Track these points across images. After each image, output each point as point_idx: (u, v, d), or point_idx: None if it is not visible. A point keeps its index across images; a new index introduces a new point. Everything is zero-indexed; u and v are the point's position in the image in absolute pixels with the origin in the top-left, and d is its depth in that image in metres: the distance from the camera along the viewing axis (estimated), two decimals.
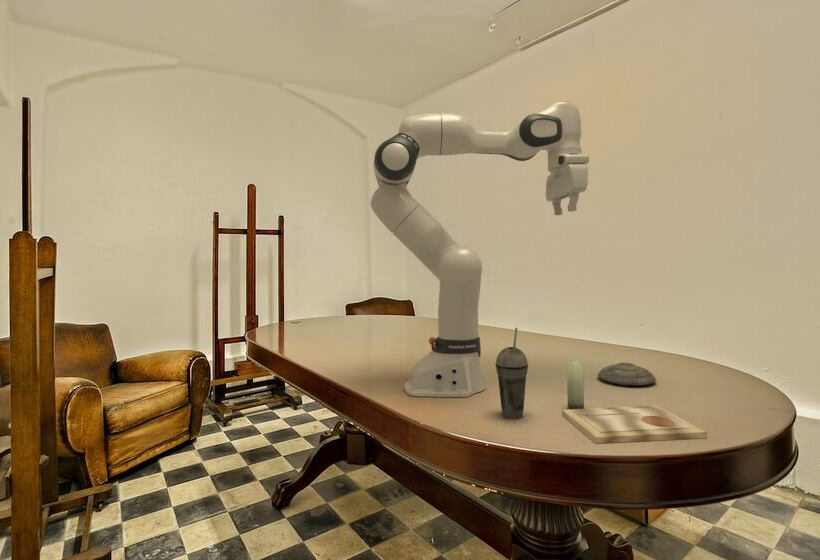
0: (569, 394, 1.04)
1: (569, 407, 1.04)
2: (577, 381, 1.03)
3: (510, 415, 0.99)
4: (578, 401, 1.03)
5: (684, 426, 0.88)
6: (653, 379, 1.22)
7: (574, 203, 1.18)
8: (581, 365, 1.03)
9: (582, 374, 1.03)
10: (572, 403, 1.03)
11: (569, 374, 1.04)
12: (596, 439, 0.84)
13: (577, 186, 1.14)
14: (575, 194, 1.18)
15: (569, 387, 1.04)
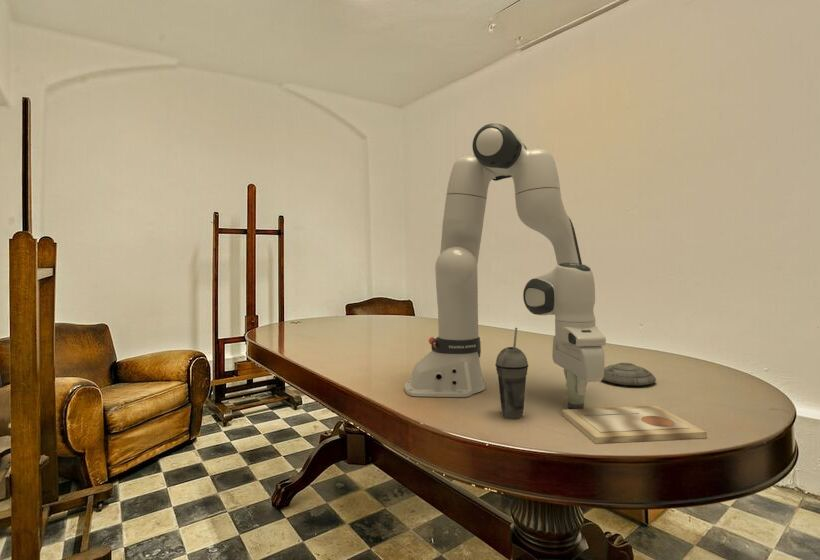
0: (569, 394, 1.04)
1: (569, 407, 1.04)
2: (577, 381, 1.03)
3: (510, 415, 0.99)
4: (578, 401, 1.03)
5: (684, 426, 0.88)
6: (653, 379, 1.22)
7: (583, 386, 1.01)
8: None
9: None
10: (572, 403, 1.03)
11: (569, 374, 1.04)
12: (596, 439, 0.84)
13: (592, 377, 0.94)
14: None
15: (569, 387, 1.04)
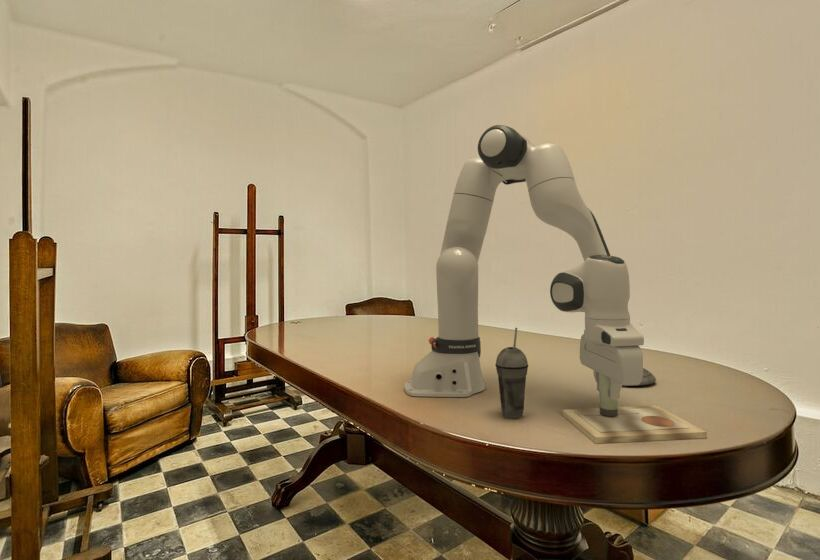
0: (602, 398, 0.95)
1: (602, 413, 0.95)
2: None
3: (510, 415, 0.99)
4: (612, 406, 0.94)
5: (684, 426, 0.88)
6: (653, 379, 1.22)
7: (617, 390, 0.92)
8: None
9: None
10: (605, 408, 0.94)
11: (601, 377, 0.95)
12: (596, 439, 0.84)
13: (629, 380, 0.85)
14: None
15: (602, 391, 0.95)
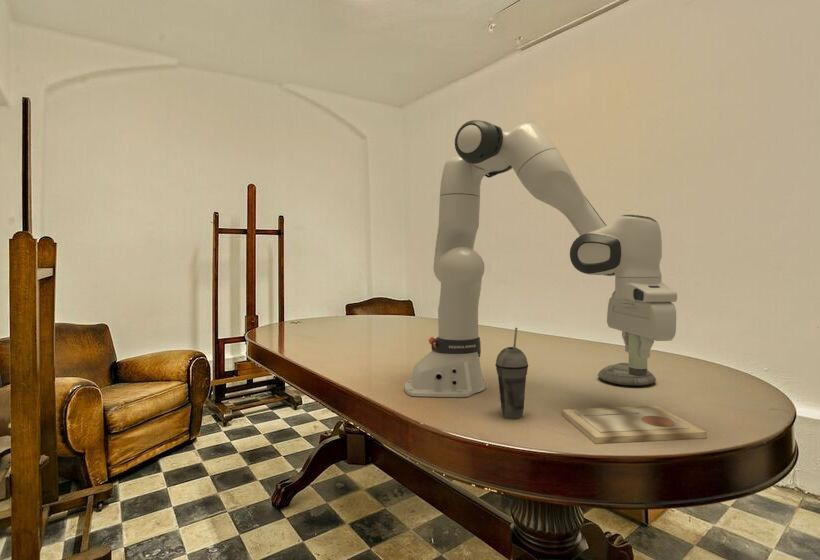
0: (631, 358, 0.95)
1: (631, 372, 0.95)
2: (641, 343, 0.94)
3: (510, 415, 0.99)
4: (642, 365, 0.94)
5: (684, 426, 0.88)
6: (653, 379, 1.22)
7: (647, 348, 0.92)
8: None
9: None
10: (635, 368, 0.94)
11: (632, 336, 0.95)
12: (596, 439, 0.84)
13: (662, 335, 0.85)
14: (649, 338, 0.91)
15: (631, 350, 0.95)
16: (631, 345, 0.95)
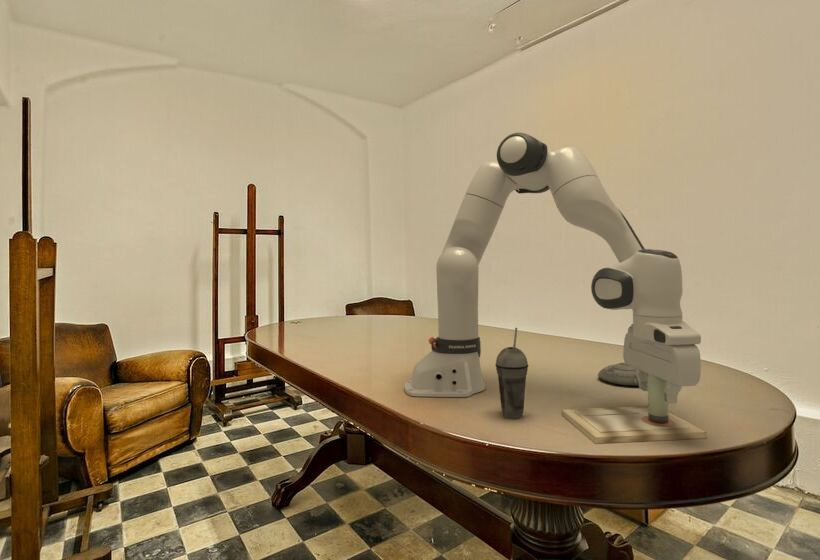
0: (651, 404, 0.91)
1: (651, 419, 0.91)
2: (662, 390, 0.89)
3: (510, 415, 0.99)
4: (663, 413, 0.89)
5: (684, 426, 0.88)
6: None
7: (675, 393, 0.86)
8: None
9: None
10: (655, 415, 0.90)
11: (652, 382, 0.90)
12: (596, 439, 0.84)
13: (687, 381, 0.81)
14: None
15: (651, 396, 0.90)
16: (651, 391, 0.90)
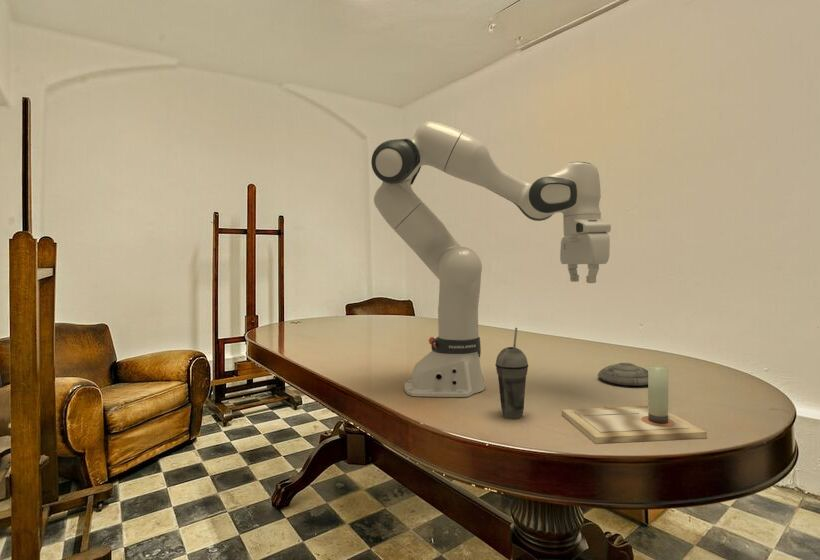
0: (651, 404, 0.91)
1: (651, 419, 0.91)
2: (662, 389, 0.89)
3: (510, 415, 0.99)
4: (663, 413, 0.90)
5: (684, 426, 0.88)
6: None
7: (594, 275, 1.07)
8: (666, 371, 0.89)
9: (667, 382, 0.90)
10: (655, 415, 0.90)
11: (651, 381, 0.90)
12: (596, 439, 0.84)
13: (598, 258, 1.03)
14: (595, 265, 1.06)
15: (651, 396, 0.91)
16: (651, 391, 0.91)
